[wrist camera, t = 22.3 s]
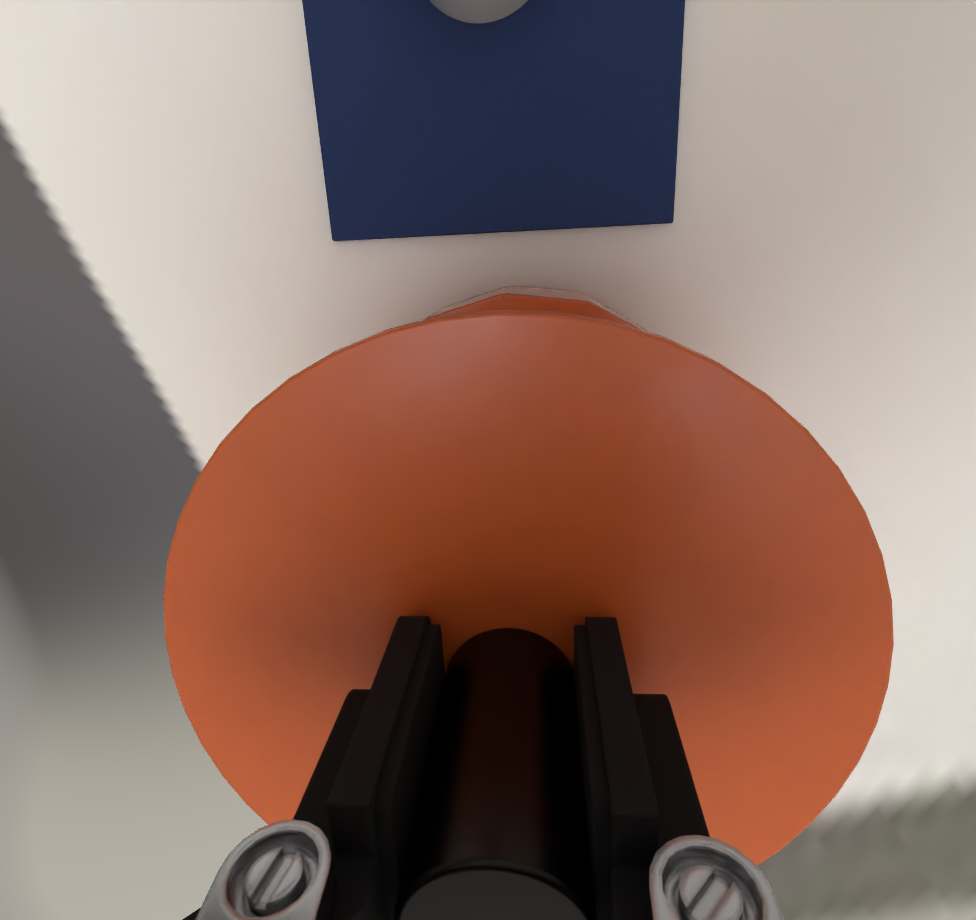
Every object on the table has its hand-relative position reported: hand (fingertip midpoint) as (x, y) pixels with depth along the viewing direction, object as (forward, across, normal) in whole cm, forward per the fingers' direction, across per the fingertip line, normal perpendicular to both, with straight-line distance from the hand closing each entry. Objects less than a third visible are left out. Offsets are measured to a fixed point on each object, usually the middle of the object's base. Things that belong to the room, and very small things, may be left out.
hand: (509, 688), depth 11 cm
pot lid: (+1, 0, 0) cm, 1 cm away
